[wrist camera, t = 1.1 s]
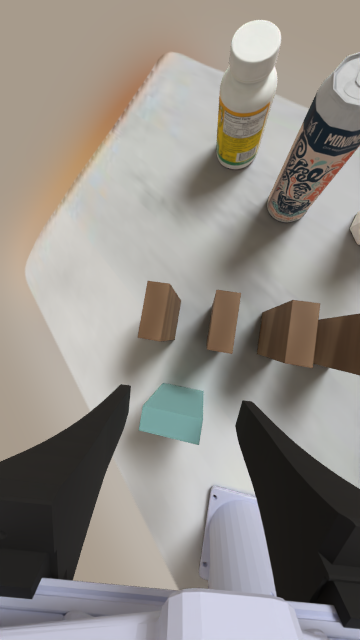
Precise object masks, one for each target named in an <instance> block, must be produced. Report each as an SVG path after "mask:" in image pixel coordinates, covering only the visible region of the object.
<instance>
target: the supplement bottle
mask: <svg viewBox="0 0 360 640" xmlns="http://www.w3.org/2000/svg"><path fill="white" fill-rule="evenodd" d="M280 44H281V33H280V31H279V29H278V28H277V27H276V25H274V24H273V23H271V22H269V21H265V20H255V21H251V22H248V23H246V24H244V25H243V26H241V27H240V29H238V30H237V31H236V33H235V35H234V36H233V39H232V42H231V50H230V58H229V65H230V66H229V67H228V69H227V70H226V72H225V74H224V76H223V78H222V81H221V86H220V97H219V113H218V129H217V144H216V152H217V157H218V160H219V161H220V163H221V164H222V165H223V166H225V167H227V168H230V169H240V168H243V167H246V166H247V165H249V164H250V163H251V162H252V161H253V160H254V159H255V157H256V155H257V153H258V150H259V146H260V143H261V139H262V136H263V132H264V129H265V125H266V122H267V119H268V115H269V112H270V108H271V105H272V102H273V98H274V95H275V91H276V87H277V72H276V69H275V64H276V61H277V57H278V52H279V48H280Z"/></svg>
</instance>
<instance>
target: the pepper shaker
mask: <svg viewBox="0 0 360 640" xmlns="http://www.w3.org/2000/svg"><path fill="white" fill-rule="evenodd" d="M350 230H351V232H352V234H353V237H354V239H355V241H356V243H357V244H358V245H360V211H359V212H358V213H357V215H356V217H355V219H354V221H353V223H352V225H351V227H350Z"/></svg>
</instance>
